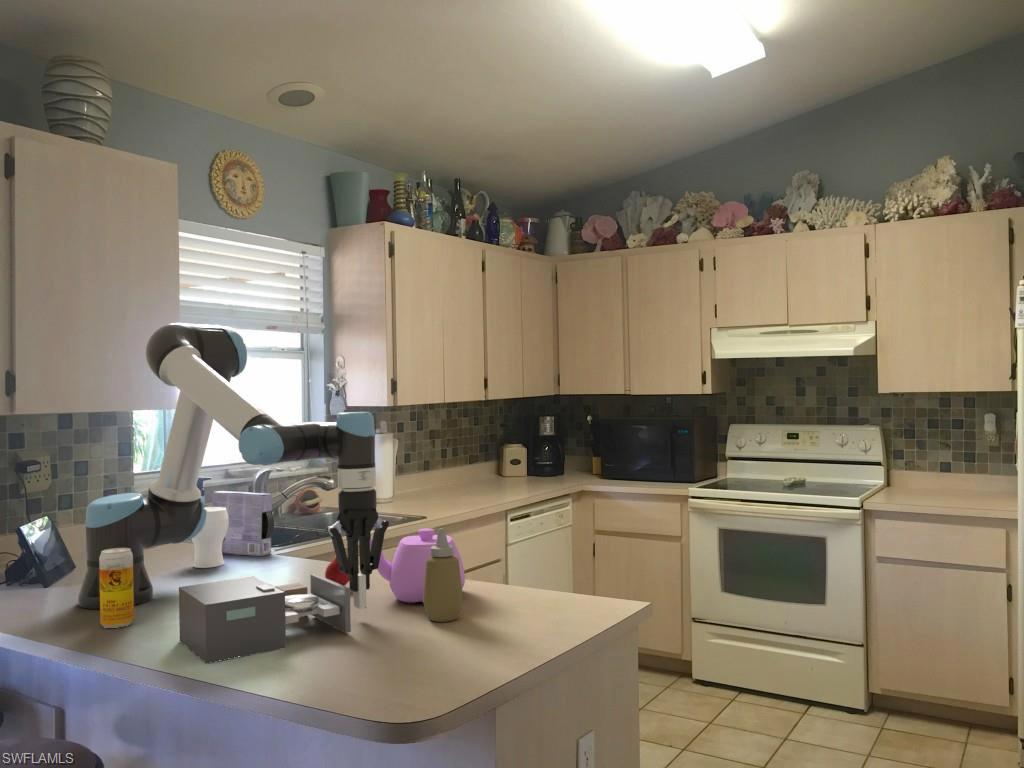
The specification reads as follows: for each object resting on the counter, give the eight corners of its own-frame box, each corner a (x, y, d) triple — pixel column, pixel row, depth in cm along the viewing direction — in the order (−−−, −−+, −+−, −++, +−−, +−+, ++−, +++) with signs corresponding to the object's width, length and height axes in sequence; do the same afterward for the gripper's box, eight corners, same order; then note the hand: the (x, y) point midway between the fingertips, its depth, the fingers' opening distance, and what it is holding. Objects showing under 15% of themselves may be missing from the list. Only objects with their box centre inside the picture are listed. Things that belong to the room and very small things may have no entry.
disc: (308, 600, 169) (308, 592, 169) (325, 608, 162) (325, 599, 162) (269, 607, 164) (269, 599, 164) (285, 615, 158) (285, 606, 158)
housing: (179, 640, 159) (178, 585, 159) (254, 627, 167) (253, 574, 167) (206, 663, 145) (205, 602, 145) (286, 648, 153) (285, 590, 153)
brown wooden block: (275, 615, 176) (274, 586, 176) (298, 611, 179) (298, 582, 179) (284, 620, 172) (283, 590, 172) (308, 616, 174) (307, 586, 174)
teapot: (462, 583, 202) (461, 519, 202) (467, 605, 181) (465, 534, 181) (365, 587, 200) (364, 522, 200) (358, 610, 179) (356, 538, 179)
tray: (248, 626, 166) (247, 584, 166) (315, 614, 174) (315, 573, 174) (279, 646, 153) (278, 600, 153) (350, 631, 161) (349, 588, 161)
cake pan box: (275, 553, 244) (274, 491, 244) (264, 557, 239) (263, 494, 239) (222, 550, 251) (221, 490, 251) (210, 553, 246) (209, 492, 247)
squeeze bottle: (469, 614, 173) (468, 526, 173) (454, 625, 165) (452, 532, 166) (433, 612, 176) (431, 524, 176) (416, 622, 168) (414, 531, 168)
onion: (354, 587, 200) (353, 553, 200) (346, 593, 194) (346, 557, 194) (329, 587, 200) (329, 553, 200) (322, 593, 195) (321, 558, 195)
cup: (178, 568, 225) (177, 511, 226) (204, 560, 236) (203, 506, 236) (213, 570, 222) (212, 512, 222) (237, 562, 233) (236, 507, 233)
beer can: (101, 631, 166) (99, 554, 167) (100, 623, 172) (98, 549, 172) (135, 626, 169) (133, 551, 169) (132, 619, 175) (131, 546, 175)
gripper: (334, 493, 164) (337, 616, 164) (395, 487, 172) (398, 604, 171) (319, 490, 170) (322, 608, 170) (378, 484, 178) (380, 598, 178)
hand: (360, 606), depth 171 cm, fingers closed
